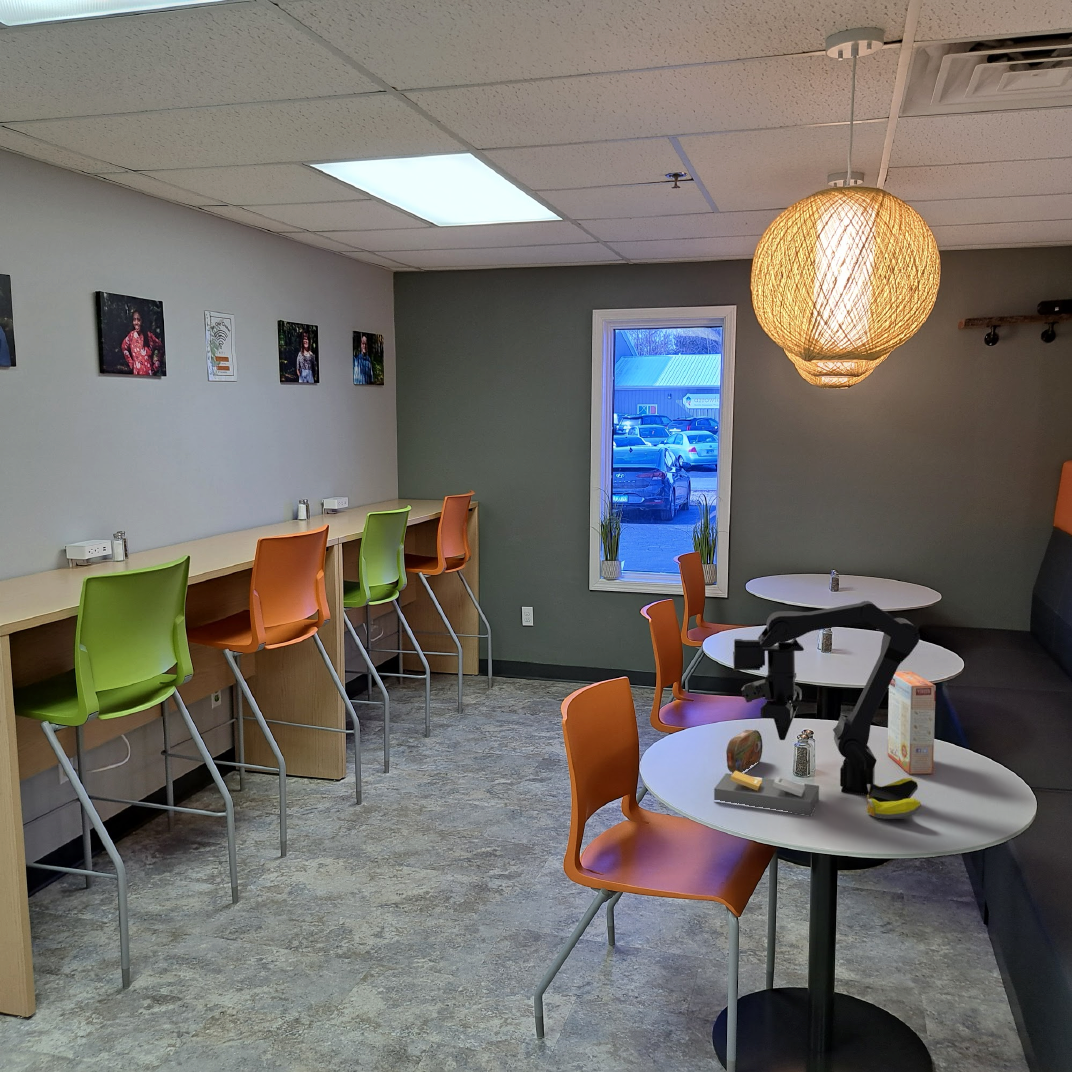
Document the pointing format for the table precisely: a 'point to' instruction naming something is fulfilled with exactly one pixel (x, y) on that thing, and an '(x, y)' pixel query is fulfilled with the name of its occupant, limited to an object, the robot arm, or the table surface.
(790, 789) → the grey rocker
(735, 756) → the tin
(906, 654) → the robot arm
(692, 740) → the table surface
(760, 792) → the rocker switch panel
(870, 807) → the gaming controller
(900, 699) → the cracker box
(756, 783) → the block
